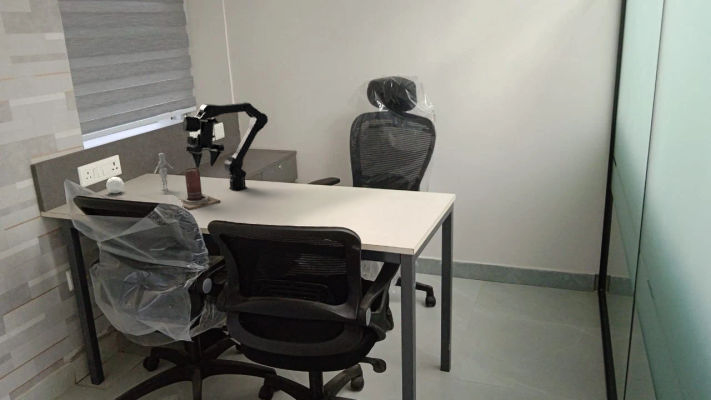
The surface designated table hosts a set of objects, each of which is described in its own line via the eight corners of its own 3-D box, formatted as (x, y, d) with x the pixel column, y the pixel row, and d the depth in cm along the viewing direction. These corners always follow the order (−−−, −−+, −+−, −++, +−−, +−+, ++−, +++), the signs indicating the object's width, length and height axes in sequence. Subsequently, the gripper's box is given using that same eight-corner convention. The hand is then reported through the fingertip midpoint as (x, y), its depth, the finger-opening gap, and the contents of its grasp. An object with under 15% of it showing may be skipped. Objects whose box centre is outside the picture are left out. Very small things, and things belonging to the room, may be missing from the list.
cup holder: (203, 195, 257) (202, 191, 256) (220, 202, 247) (220, 197, 246) (172, 202, 247) (172, 198, 247) (189, 209, 237) (188, 205, 236)
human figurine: (172, 186, 273) (167, 150, 268) (177, 187, 272) (173, 150, 266) (153, 193, 263) (148, 155, 258) (159, 193, 261) (154, 156, 256)
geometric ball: (119, 199, 265) (116, 188, 258) (103, 192, 265) (101, 182, 259) (128, 187, 269) (126, 177, 263) (113, 181, 270) (111, 170, 264)
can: (195, 203, 243) (191, 171, 239) (185, 201, 246) (181, 170, 242) (205, 199, 248) (202, 168, 244) (196, 197, 251) (192, 167, 247)
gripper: (207, 129, 264) (205, 162, 267) (177, 130, 248) (176, 165, 251) (225, 132, 259) (223, 166, 262) (196, 134, 243) (195, 169, 246)
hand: (204, 166), depth 255 cm, fingers open, 9 cm apart
